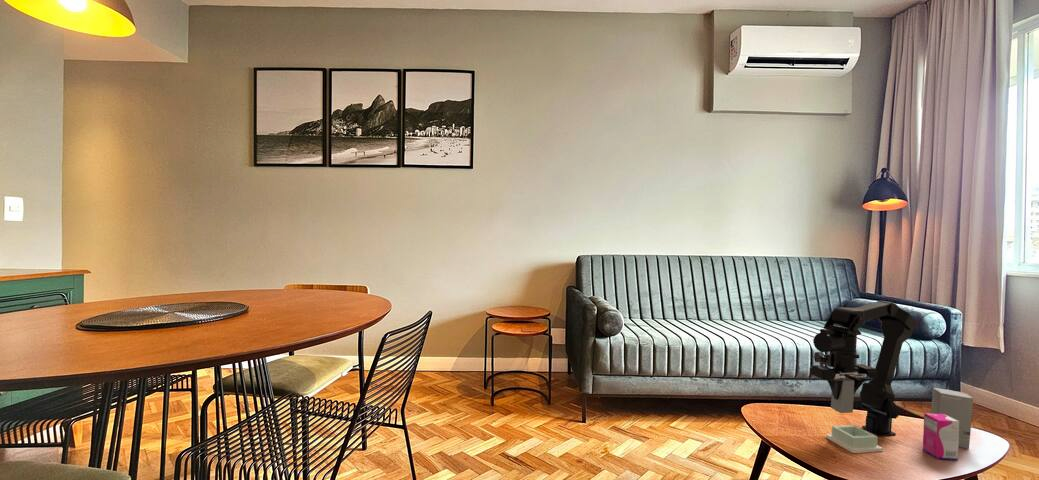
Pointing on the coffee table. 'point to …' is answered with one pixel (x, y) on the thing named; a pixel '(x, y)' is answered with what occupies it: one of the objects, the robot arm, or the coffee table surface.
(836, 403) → the peg
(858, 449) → the socket block
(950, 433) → the supplement box
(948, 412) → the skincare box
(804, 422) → the coffee table surface
